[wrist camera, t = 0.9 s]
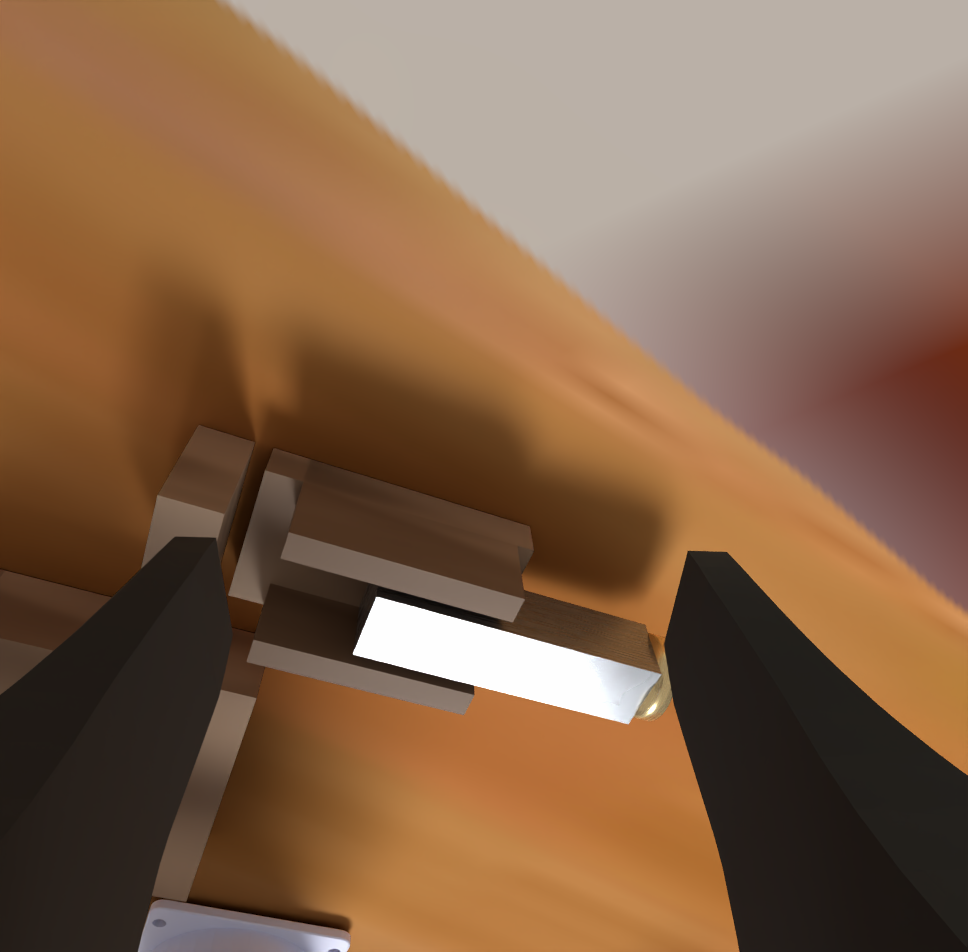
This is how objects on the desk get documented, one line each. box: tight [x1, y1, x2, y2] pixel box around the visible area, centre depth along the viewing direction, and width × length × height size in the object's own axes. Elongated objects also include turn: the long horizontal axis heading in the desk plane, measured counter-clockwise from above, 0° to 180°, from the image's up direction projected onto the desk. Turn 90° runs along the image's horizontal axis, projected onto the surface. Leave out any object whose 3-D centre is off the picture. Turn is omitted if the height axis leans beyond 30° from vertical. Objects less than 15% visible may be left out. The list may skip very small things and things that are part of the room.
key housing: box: [141, 425, 534, 715], centre depth 21 cm, size 4×10×4 cm, turn 68°
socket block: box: [0, 569, 265, 902], centre depth 25 cm, size 10×10×2 cm
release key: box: [353, 583, 673, 724], centre depth 22 cm, size 2×9×2 cm, turn 68°
